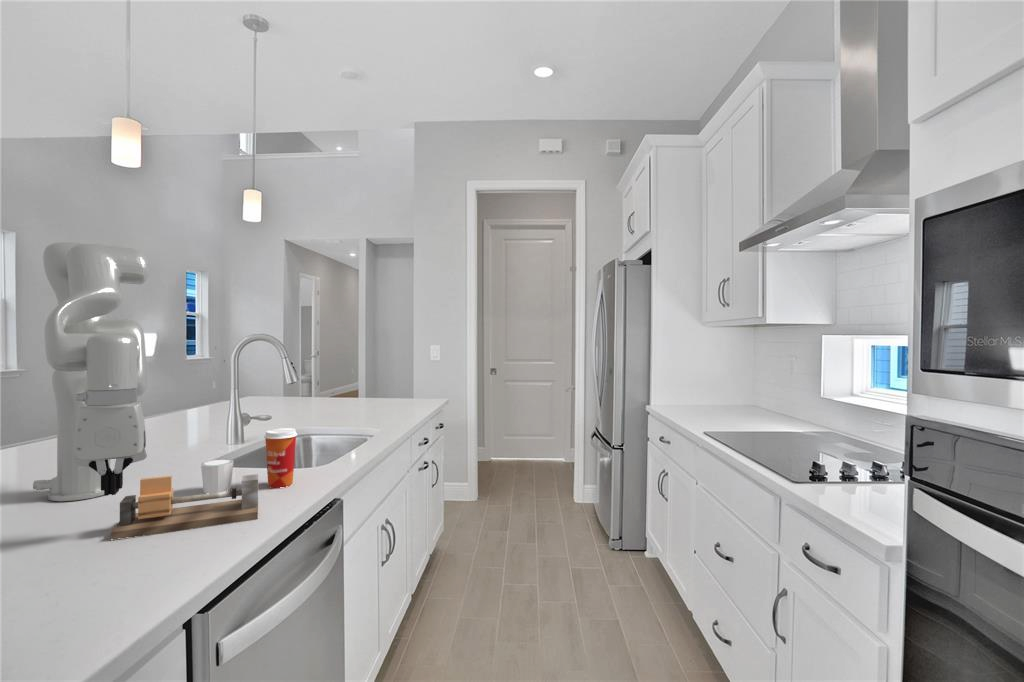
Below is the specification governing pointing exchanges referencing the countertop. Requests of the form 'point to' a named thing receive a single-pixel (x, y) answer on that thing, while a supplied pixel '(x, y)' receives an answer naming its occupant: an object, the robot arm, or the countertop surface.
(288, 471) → the paper cup
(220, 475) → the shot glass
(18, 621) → the countertop surface
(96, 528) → the countertop surface
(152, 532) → the wooden slider rail
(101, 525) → the countertop surface
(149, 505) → the orange sliding block
